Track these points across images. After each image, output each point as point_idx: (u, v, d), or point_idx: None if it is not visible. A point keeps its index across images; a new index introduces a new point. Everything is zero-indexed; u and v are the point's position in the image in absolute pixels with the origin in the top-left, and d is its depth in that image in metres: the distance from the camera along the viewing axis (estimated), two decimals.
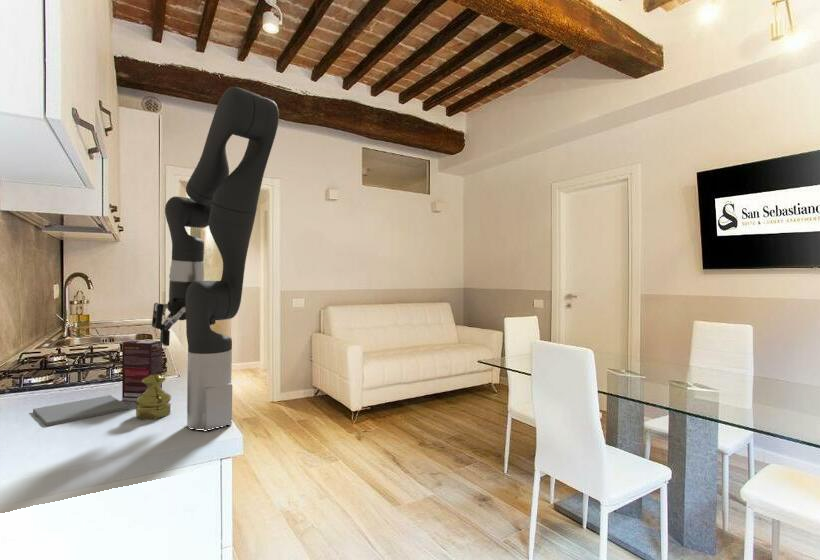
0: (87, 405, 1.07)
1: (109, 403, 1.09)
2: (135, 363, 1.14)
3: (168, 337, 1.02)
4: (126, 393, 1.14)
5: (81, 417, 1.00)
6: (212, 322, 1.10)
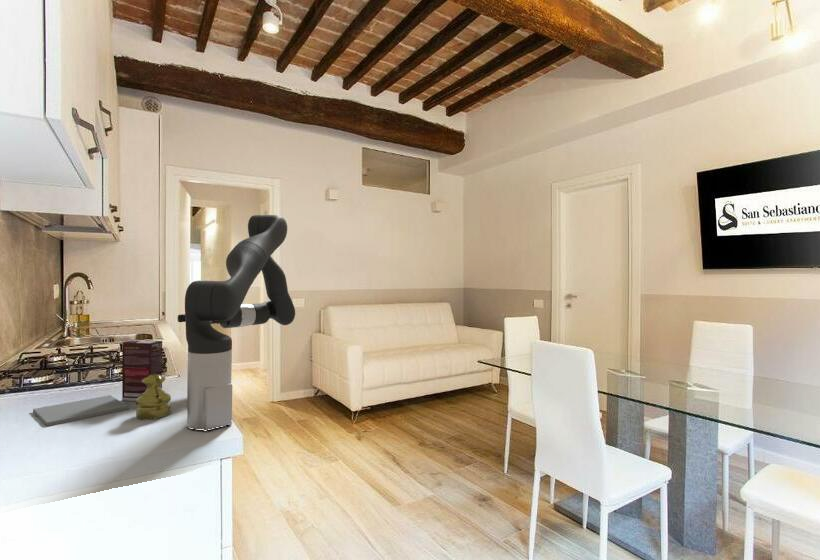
0: (87, 405, 1.07)
1: (109, 403, 1.09)
2: (135, 363, 1.14)
3: None
4: (126, 393, 1.14)
5: (81, 417, 1.00)
6: None
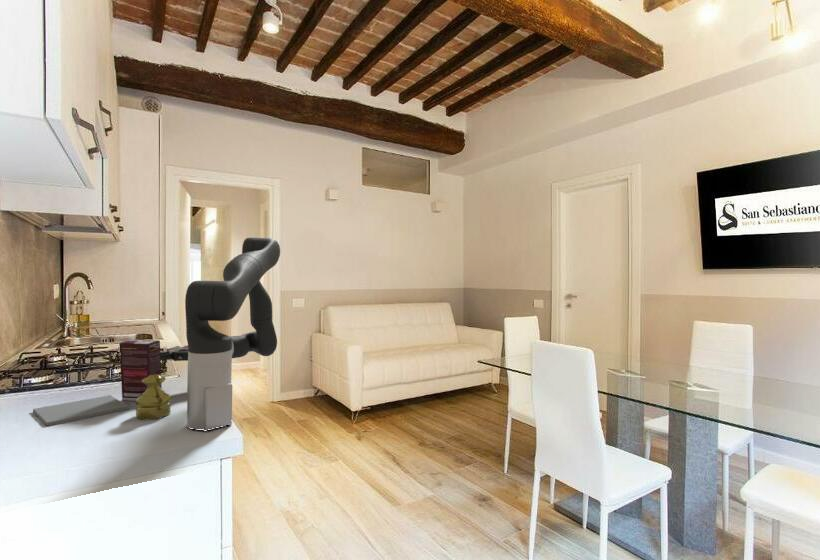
0: (87, 405, 1.07)
1: (109, 403, 1.09)
2: (134, 364, 1.13)
3: (160, 352, 1.20)
4: (126, 393, 1.14)
5: (81, 417, 1.00)
6: None
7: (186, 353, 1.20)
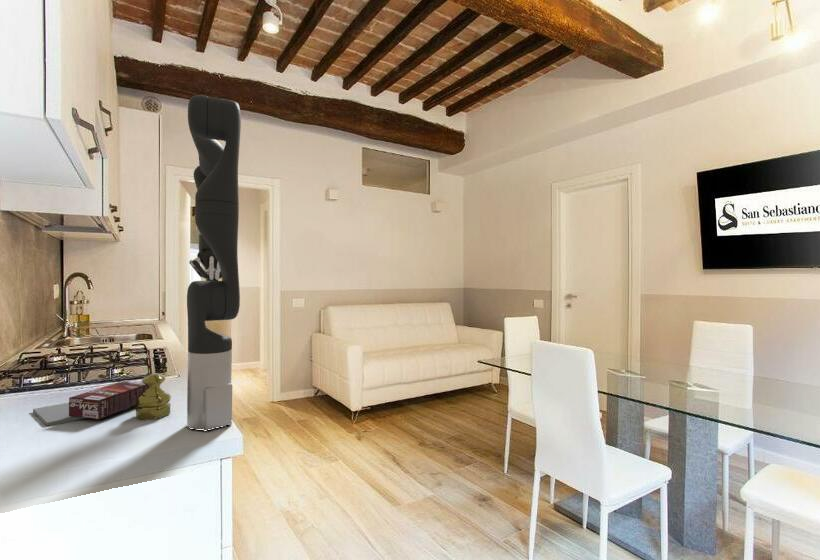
0: None
1: None
2: None
3: None
4: None
5: (81, 417, 1.00)
6: (222, 275, 1.28)
7: None
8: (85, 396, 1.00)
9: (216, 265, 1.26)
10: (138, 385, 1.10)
